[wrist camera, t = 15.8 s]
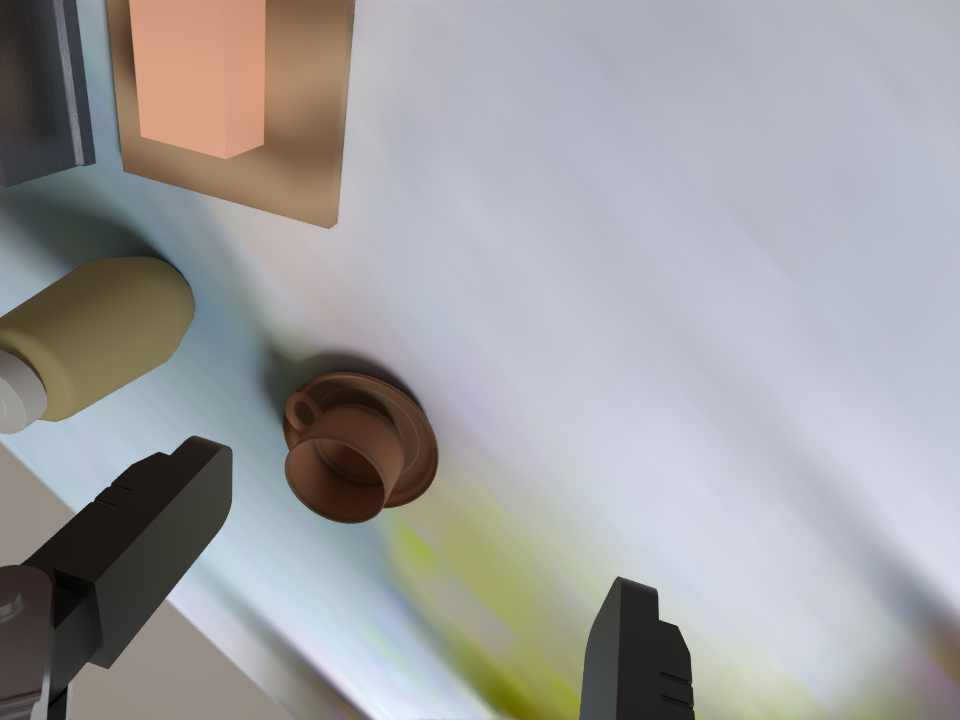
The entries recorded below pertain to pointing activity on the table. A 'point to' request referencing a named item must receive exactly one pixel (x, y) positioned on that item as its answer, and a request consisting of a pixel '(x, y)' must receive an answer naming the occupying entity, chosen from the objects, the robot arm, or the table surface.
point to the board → (287, 116)
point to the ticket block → (201, 73)
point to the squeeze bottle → (89, 337)
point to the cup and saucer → (356, 447)
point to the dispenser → (42, 91)
